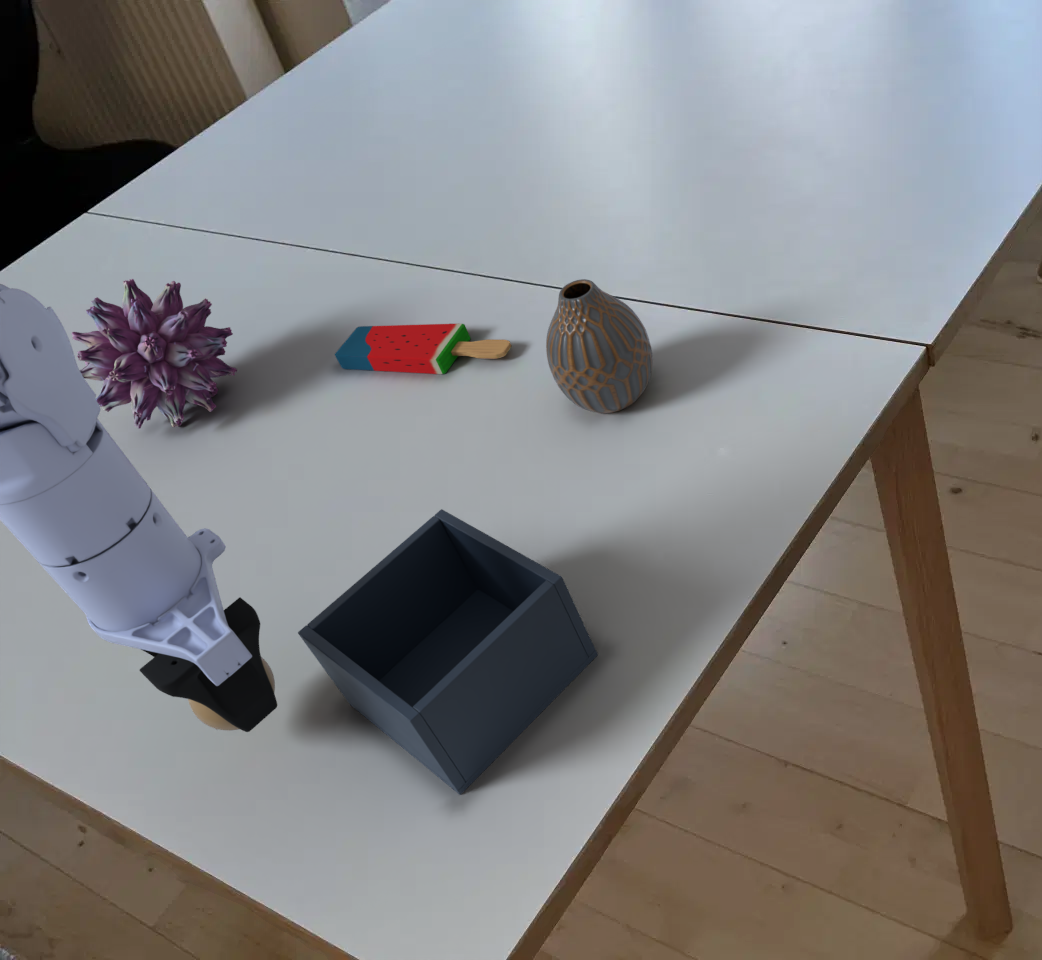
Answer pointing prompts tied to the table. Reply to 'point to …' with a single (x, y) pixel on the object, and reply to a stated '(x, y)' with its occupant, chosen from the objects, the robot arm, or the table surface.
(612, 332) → the vase
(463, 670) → the bin
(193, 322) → the flower
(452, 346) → the popsicle
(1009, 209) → the table surface
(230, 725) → the brown ball
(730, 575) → the table surface
